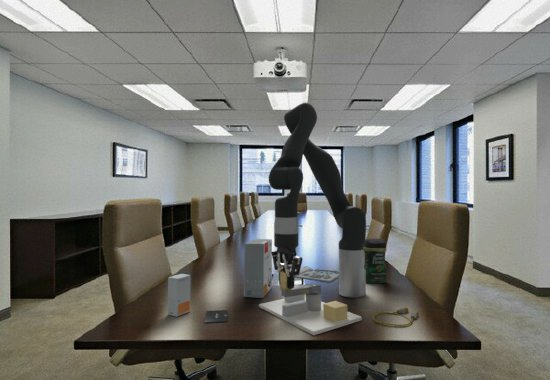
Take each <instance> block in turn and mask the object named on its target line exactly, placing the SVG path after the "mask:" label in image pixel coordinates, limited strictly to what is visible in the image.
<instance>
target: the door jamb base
mask: <svg viewBox="0 0 550 380" xmlns="http://www.w3.org/2000/svg"><path fill="white" fill-rule="evenodd" d="M294 287H297V286H295V285H294ZM258 307H259V308H260V309H262V310H264V311H266V312H268V313H270V314H272V315H273V316H276V317H278V318H279V319H282V320H283V321H285V322H287V323H289V324H291V325H293V326H295V327H296V328H299V329H301V330H302V331H304V332H306V333H308V334H310V335H312V336H316V335H318V334H322V333H326V332H328V331H332V330H334V329H335V330H336V329H338V328H341V327H345V326H348V325H350V324H353V323H357V322H360V321H362V318H363V317H362V316H361V315H359V314H355V313H353V312H350V311H348V304H346V303H342V302H339V301H338V300H333V301H329V302H324V301H322V292H321V293H318V294H310V293H309V294H303V295H297V296H291V297H284V298H282V299H281V298H280V299H277V300H276V299H275V300H272V301H267V302H263V303H259V304H258Z"/></svg>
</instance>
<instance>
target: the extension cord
mask: <svg viewBox="0 0 550 380" xmlns="http://www.w3.org/2000/svg"><path fill="white" fill-rule="evenodd" d="M408 312H409V308H408V307H407V306H404V307H400V308H398V309H396V311H393V312H388V311H387V312H385V311H384V312H382V311H381V312H378V313H375V314H373V316H372V320H373V322H375V323H376V324H378V325H380V326H384V327H387V328H388V327H389V328H390V327H391V328H408V327H410V326H412V325H413V321H414V320H416V319H417V317H418V316H420V313H419V312H417V311H416V310H415V311H412V312H411V313H410V318H409V317H406V316H404V315H402V314H405V313H408ZM382 314H386V315H387V314H390V315H396V316H401V317H403V318H404V319H407V320H408V321H409V322H408V323H406V324H405V323H404V324H396V323H388V322H382V321H378V320H376V319H375V317H377V316H379V315H382Z"/></svg>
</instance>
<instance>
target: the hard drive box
mask: <svg viewBox="0 0 550 380" xmlns="http://www.w3.org/2000/svg"><path fill="white" fill-rule="evenodd" d="M243 246H244V247H243V248H244V251H243V253H244V255H243V257H244V259H243V261H244V262H243V263H244V265H243V297H244V298H256V299H257V298H258V299H263V298H264V297H265V296H266V295H267V294H268V292H269V291H271V289H272V287H273V282H272V281H273V258H272V251H273V239H267V238H254V239H252V240H250V241H248V242H245V243H244V245H243Z"/></svg>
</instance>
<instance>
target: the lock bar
mask: <svg viewBox="0 0 550 380" xmlns="http://www.w3.org/2000/svg"><path fill="white" fill-rule="evenodd" d="M290 272H291V270H290ZM279 286H280V288H279V290H280V291H281V296H282V297H283V298H285V297H291V296H297V295H303V294H305V295H306V294H309V293H310V294H318V293H321V294H322V284H320V283H314V282H313V283H312V282H311V283H306V284H304V285H299V286H296V287H295V286H294V288H291V289H288V288H287V271H286V270H284V271H280V285H279Z"/></svg>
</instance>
